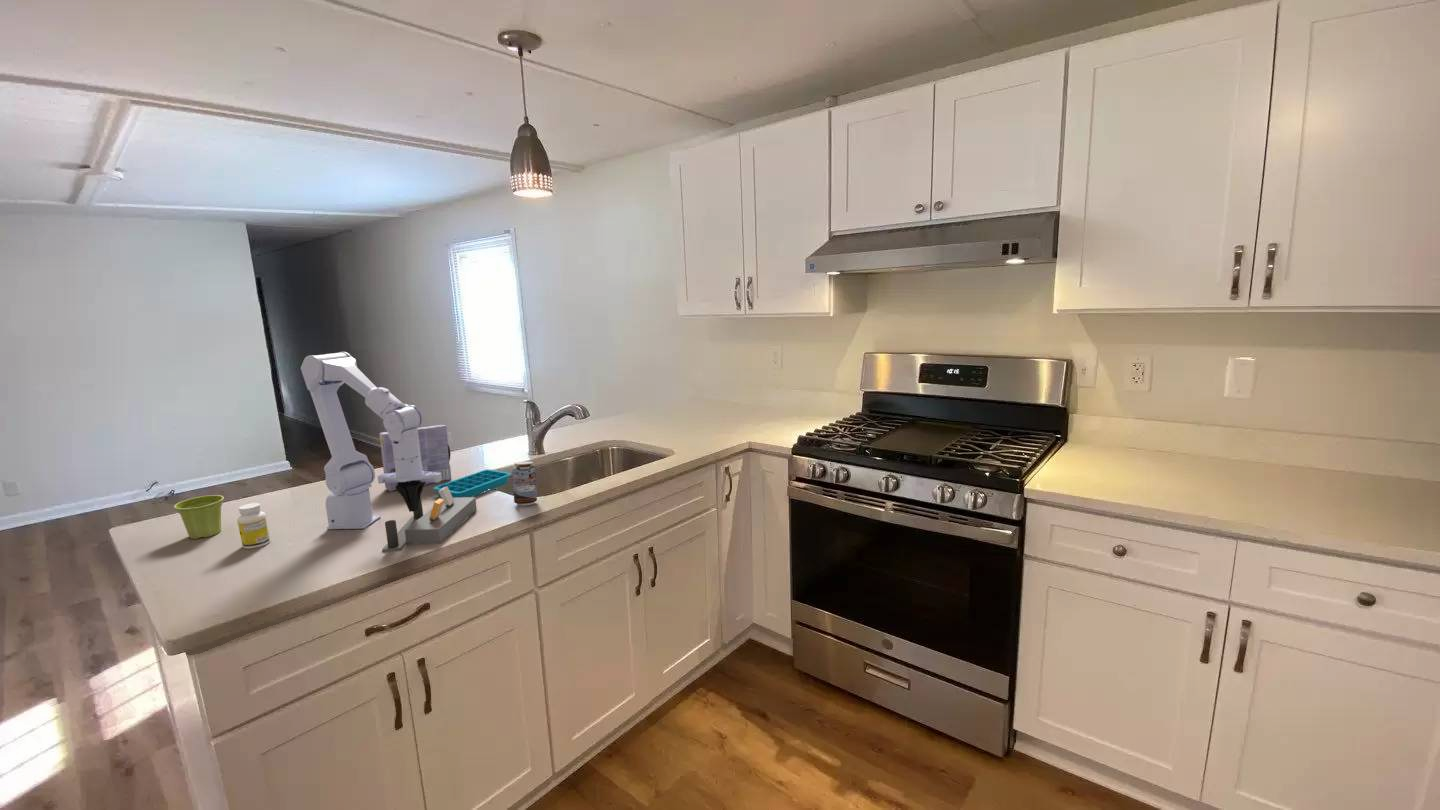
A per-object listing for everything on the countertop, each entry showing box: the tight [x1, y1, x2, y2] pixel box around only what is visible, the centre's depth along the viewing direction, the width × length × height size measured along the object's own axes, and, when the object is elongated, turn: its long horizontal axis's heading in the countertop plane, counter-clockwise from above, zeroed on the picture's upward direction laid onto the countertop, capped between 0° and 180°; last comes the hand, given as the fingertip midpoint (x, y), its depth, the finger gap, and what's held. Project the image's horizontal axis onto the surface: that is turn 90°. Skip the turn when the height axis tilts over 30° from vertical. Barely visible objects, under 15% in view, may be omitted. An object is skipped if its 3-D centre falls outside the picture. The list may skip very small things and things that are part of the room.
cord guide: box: [381, 495, 424, 553], centre depth 147 cm, size 4×21×7 cm, turn 9°
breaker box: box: [405, 496, 478, 545], centre depth 152 cm, size 8×22×4 cm, turn 0°
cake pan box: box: [379, 424, 452, 492], centre depth 185 cm, size 19×5×18 cm, turn 130°
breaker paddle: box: [429, 497, 444, 521], centre depth 147 cm, size 1×3×5 cm, turn 1°
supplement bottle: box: [236, 502, 271, 550], centre depth 142 cm, size 5×5×10 cm
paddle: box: [439, 486, 454, 508], centre depth 156 cm, size 1×3×5 cm, turn 0°
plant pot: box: [173, 494, 225, 540], centre depth 149 cm, size 9×9×9 cm
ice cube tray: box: [433, 469, 513, 498], centre depth 180 cm, size 12×20×3 cm, turn 153°
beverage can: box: [512, 461, 538, 506], centre depth 166 cm, size 6×7×12 cm
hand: (413, 510), depth 147 cm, fingers closed
